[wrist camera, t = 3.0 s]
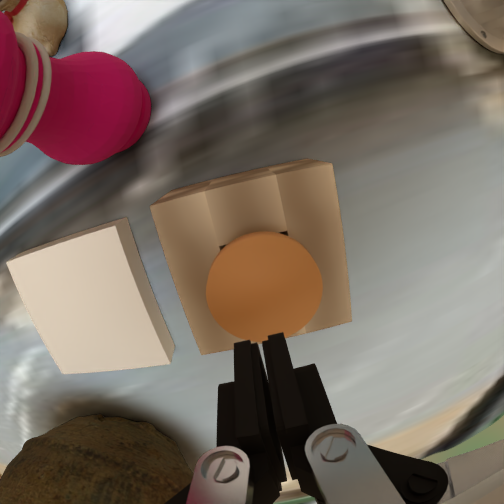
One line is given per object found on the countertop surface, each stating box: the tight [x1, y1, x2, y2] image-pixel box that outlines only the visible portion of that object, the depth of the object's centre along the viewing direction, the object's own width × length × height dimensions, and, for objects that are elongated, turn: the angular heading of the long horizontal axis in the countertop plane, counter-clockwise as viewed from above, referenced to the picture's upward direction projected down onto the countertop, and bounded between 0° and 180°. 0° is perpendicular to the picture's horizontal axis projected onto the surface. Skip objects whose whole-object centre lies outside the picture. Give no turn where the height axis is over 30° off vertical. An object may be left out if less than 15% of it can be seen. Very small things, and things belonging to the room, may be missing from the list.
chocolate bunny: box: [0, 0, 67, 56], centre depth 11 cm, size 6×8×10 cm
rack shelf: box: [6, 217, 175, 374], centre depth 23 cm, size 12×12×2 cm
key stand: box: [150, 159, 352, 355], centre depth 20 cm, size 10×10×6 cm
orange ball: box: [206, 231, 323, 342], centre depth 18 cm, size 6×6×7 cm
